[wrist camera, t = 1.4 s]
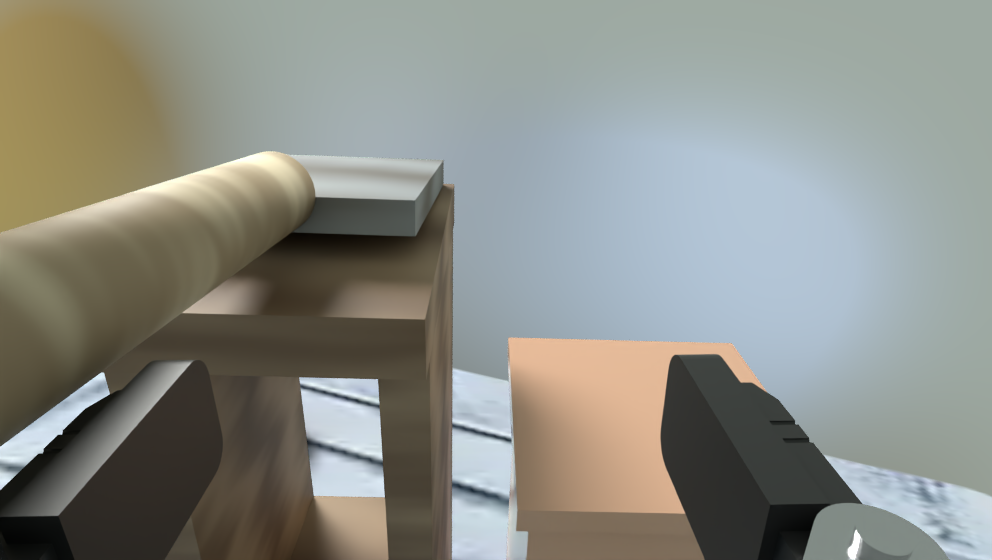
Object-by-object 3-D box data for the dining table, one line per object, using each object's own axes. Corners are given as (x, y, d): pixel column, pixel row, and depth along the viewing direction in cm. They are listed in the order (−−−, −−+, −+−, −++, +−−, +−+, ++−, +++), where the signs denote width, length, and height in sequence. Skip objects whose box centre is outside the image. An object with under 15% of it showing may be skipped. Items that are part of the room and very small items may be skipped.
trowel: (234, 569, 6) (204, 346, 5) (-624, 542, 6) (-786, 312, 5) (443, 184, 29) (443, 130, 28) (258, 178, 29) (253, 123, 28)
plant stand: (435, 884, 30) (425, 319, 16) (233, 883, 29) (59, 309, 16) (452, 622, 42) (454, 184, 29) (311, 619, 42) (249, 177, 29)
